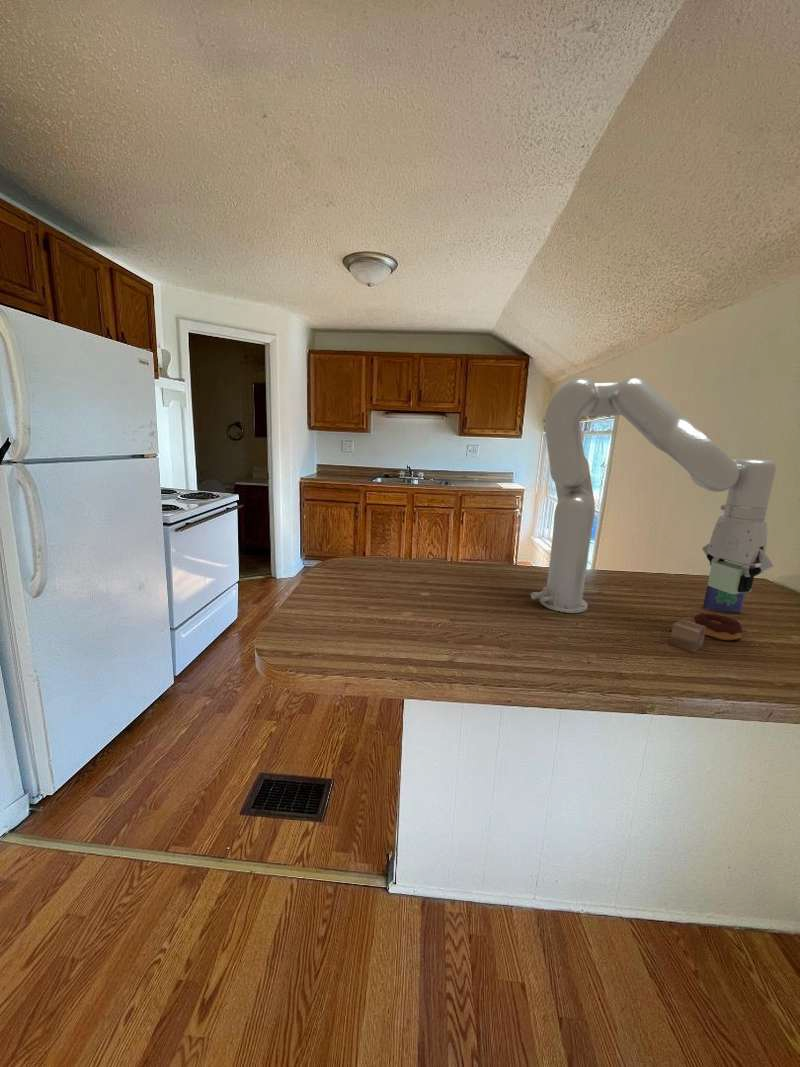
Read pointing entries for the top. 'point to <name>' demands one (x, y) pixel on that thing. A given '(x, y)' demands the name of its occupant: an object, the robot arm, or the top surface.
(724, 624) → the donut
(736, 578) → the sage block
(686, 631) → the walnut block
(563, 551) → the robot arm
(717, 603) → the flask
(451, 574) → the top surface
